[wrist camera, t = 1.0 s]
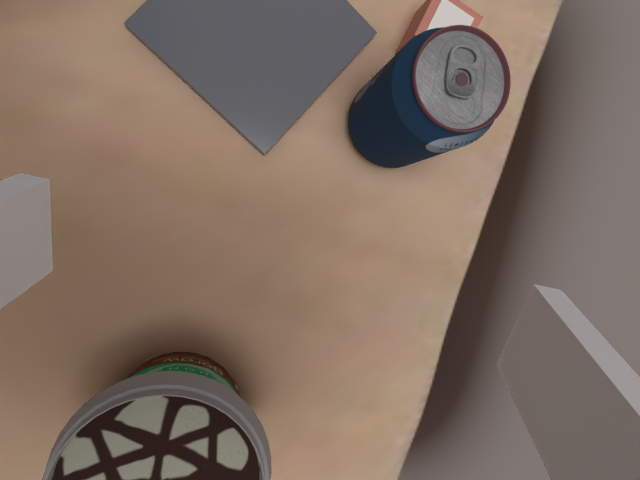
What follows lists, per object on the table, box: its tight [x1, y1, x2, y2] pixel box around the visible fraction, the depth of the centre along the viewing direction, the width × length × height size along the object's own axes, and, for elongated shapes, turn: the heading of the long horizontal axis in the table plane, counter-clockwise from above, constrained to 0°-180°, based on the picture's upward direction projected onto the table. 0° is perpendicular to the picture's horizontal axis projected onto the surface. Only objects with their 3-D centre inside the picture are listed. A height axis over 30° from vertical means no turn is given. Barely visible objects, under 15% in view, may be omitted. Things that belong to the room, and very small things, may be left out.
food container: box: [42, 352, 271, 480], centre depth 28 cm, size 12×6×10 cm, turn 86°
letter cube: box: [395, 0, 483, 55], centre depth 34 cm, size 4×4×4 cm
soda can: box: [349, 25, 510, 168], centre depth 30 cm, size 7×7×12 cm
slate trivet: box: [124, 0, 377, 155], centre depth 33 cm, size 13×13×1 cm
